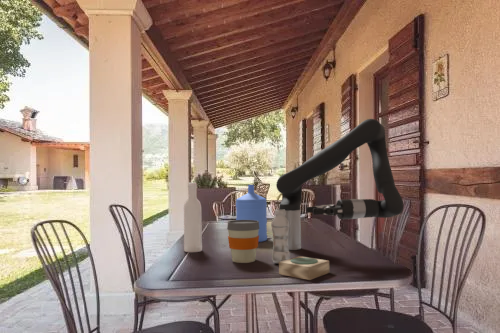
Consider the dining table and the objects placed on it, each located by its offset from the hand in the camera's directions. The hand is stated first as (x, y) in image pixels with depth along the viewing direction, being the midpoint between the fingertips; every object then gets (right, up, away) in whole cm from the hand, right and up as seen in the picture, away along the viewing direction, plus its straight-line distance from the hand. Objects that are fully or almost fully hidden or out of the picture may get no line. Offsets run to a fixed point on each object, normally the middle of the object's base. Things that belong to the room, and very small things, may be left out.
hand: (309, 210), depth 152 cm
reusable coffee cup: (-25, -20, +5) cm, 32 cm away
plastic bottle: (-11, -20, -2) cm, 23 cm away
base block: (-4, -19, -17) cm, 26 cm away
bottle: (-48, -21, +26) cm, 58 cm away
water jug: (-22, -21, +53) cm, 61 cm away
